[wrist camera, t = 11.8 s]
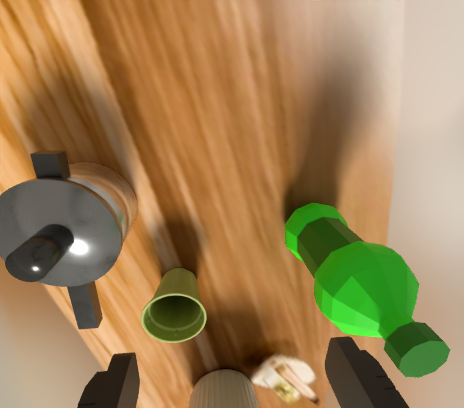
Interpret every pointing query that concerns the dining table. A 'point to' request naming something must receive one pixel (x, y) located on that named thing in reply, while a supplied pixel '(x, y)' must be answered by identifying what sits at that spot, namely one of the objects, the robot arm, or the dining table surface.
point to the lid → (58, 232)
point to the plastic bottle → (364, 288)
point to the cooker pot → (109, 189)
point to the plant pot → (175, 308)
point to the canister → (224, 391)
